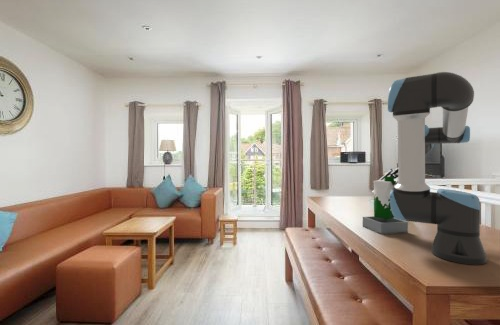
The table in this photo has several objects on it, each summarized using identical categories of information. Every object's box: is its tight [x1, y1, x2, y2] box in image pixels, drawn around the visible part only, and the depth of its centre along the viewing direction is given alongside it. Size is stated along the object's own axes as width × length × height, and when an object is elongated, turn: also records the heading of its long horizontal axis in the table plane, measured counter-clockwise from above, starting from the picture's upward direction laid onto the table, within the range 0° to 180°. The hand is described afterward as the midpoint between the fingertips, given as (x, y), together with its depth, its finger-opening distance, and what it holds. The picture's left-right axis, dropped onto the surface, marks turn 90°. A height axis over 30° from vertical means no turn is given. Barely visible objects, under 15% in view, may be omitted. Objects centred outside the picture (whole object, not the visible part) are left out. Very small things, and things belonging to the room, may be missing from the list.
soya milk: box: [373, 177, 397, 219], centre depth 125 cm, size 9×9×20 cm
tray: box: [362, 215, 409, 235], centre depth 125 cm, size 14×14×5 cm
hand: (380, 195), depth 125 cm, fingers closed on soya milk, 9 cm apart
